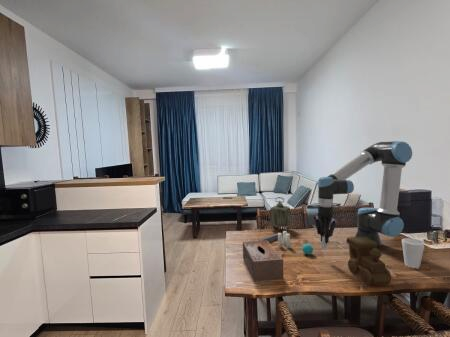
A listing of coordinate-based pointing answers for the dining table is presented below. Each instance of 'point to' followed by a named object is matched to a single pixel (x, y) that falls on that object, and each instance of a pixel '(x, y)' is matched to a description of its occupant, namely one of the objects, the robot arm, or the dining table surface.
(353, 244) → the wooden toy train
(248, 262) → the tissue box cover
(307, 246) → the ball
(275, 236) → the back wall
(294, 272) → the dining table surface
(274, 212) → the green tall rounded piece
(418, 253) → the foam cup
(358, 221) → the robot arm
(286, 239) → the front pin
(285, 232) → the pin
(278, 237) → the pin
